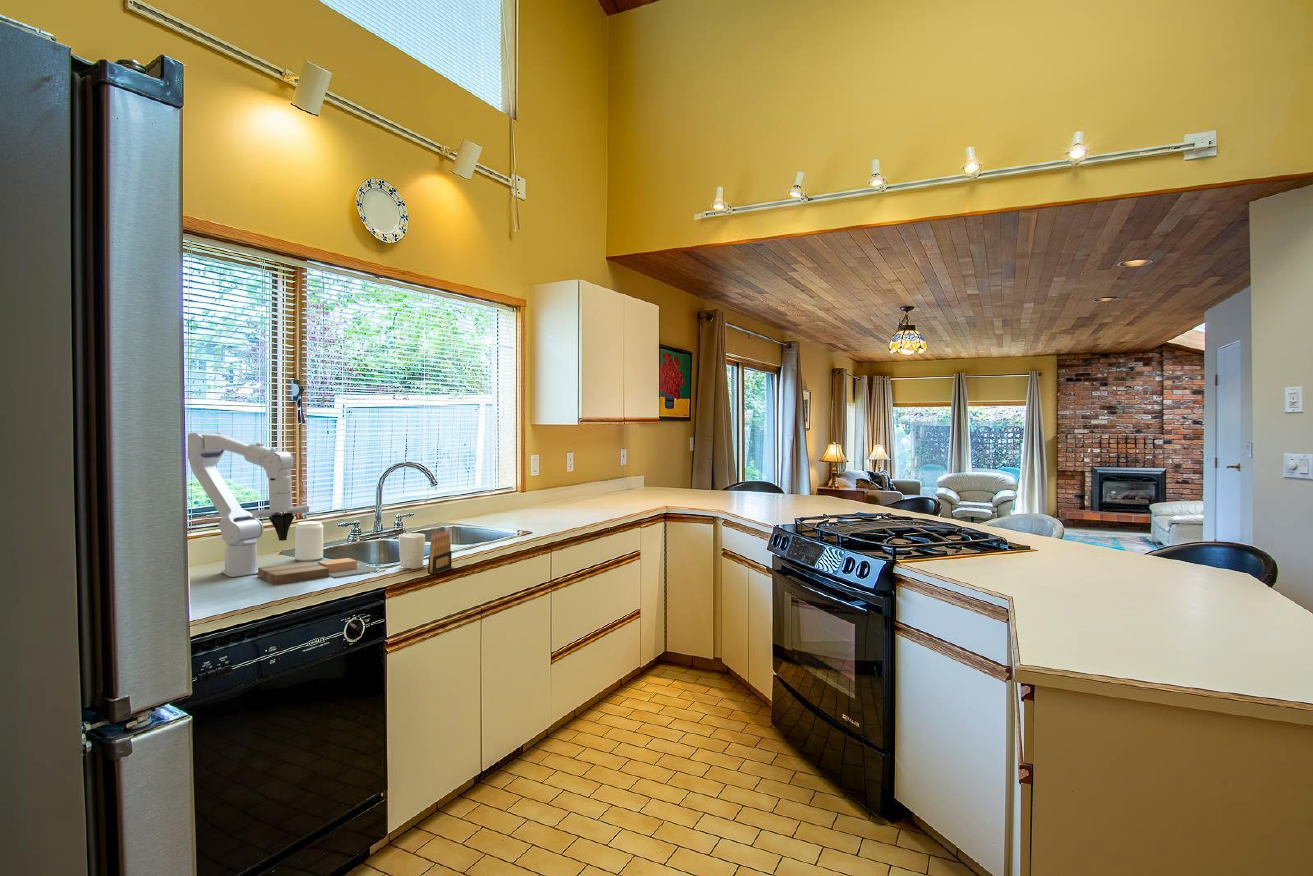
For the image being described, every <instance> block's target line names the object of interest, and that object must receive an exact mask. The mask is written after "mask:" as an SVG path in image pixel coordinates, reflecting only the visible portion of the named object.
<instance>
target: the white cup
mask: <svg viewBox="0 0 1313 876" xmlns="http://www.w3.org/2000/svg"><path fill="white" fill-rule="evenodd" d="M425 545H426V534H424V533H415V532H414V533H411V532H410V533H403V534H399V535H398V553H399V567H400V566H401V567H403V568H411V569H410V570H415V569H420V568H423V566H424V558H425ZM403 568H402V569H403Z"/></svg>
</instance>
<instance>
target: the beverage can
mask: <svg viewBox="0 0 1313 876" xmlns="http://www.w3.org/2000/svg"><path fill="white" fill-rule="evenodd" d="M322 523H323V522H322V521H317V520H312V521H311V520H309V521H299V522H297V523H296V525H295V529H294V530H295V534H294V536H295V537H294V539H295V540H294V541H295V542H294V543H295V544H294V558H295V559H296V560H297V561H299V562H307V561H310V562H314V561H318V560H320V559H322V558H323V557H324V525H323V524H322ZM295 559H294V560H295Z"/></svg>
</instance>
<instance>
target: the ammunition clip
mask: <svg viewBox="0 0 1313 876" xmlns="http://www.w3.org/2000/svg"><path fill="white" fill-rule="evenodd" d="M430 537H431V538H430V547H429V555H428V566H427V573H428V574H433V575H434V574H437V573H439V572H442V571H445V570H447V569H450V568H452V567H453V566H452V559H453V558H452V550H451V548H452V547H451V546H452V545H451V544H452V543H451V533H450V529H447V530H446V529H445V530H444V531H443V530H442V531H438V533H437V532H435V534H434V533H432V534H431V536H430Z"/></svg>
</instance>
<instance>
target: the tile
mask: <svg viewBox="0 0 1313 876" xmlns="http://www.w3.org/2000/svg"><path fill="white" fill-rule="evenodd" d="M357 561H358V560H355V559H353V558H351V557H350V558H349V557H345V558H337V559H329V560H322V561H321V560H320V561H318V562H317V564H318V565H321V566H324V567H327V568H329V572H336V571H343V570H350V569H357Z"/></svg>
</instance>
